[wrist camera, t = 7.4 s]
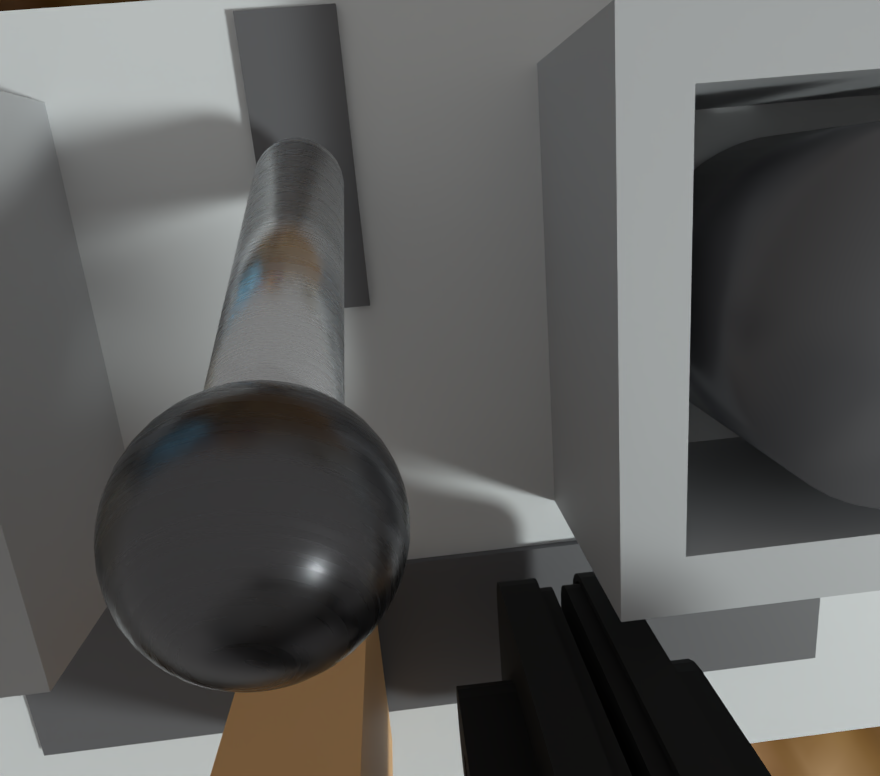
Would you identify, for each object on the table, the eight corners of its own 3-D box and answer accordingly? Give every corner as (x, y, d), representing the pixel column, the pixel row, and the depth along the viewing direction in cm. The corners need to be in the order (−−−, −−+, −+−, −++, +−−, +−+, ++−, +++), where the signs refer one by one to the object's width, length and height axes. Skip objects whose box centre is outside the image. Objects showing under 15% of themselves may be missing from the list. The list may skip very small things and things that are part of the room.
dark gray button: (888, 401, 10) (1092, 487, 7) (631, 429, 10) (736, 529, 7) (918, 122, 9) (1174, 90, 6) (631, 147, 9) (753, 126, 6)
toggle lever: (384, 228, 9) (431, 725, 4) (242, 240, 9) (126, 764, 4) (369, 81, 8) (409, 548, 3) (203, 93, 7) (-26, 597, 3)
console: (752, 527, 19) (1138, 881, 9) (1, 614, 18) (-451, 1115, 8) (776, 45, 15) (1431, -196, 6) (-151, 119, 14) (-1236, -25, 5)
